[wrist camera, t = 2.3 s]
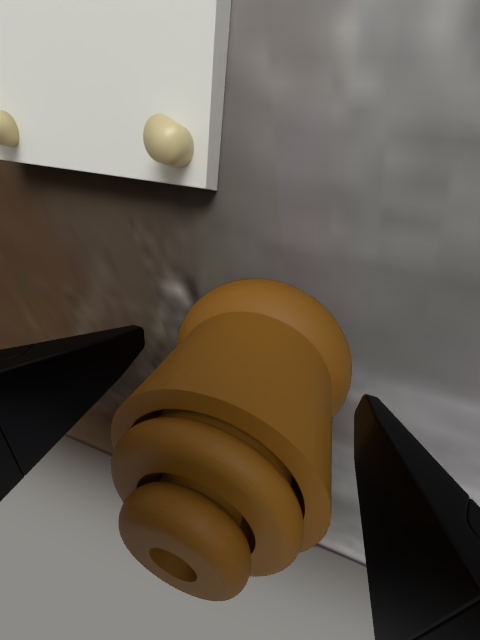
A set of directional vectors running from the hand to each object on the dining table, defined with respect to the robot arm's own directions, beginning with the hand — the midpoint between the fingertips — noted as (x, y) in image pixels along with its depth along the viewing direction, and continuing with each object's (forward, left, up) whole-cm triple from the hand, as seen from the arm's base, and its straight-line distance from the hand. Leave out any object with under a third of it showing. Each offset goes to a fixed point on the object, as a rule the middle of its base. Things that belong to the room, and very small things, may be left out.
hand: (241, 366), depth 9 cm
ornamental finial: (-1, 0, -2) cm, 3 cm away
